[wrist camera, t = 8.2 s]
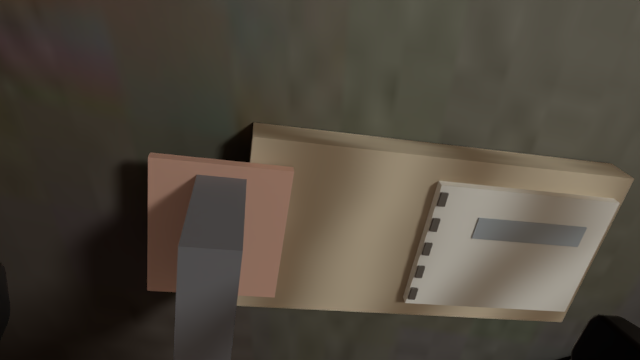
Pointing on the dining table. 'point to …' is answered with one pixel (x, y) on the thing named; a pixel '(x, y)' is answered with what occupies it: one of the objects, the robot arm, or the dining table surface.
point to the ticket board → (434, 226)
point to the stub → (213, 243)
